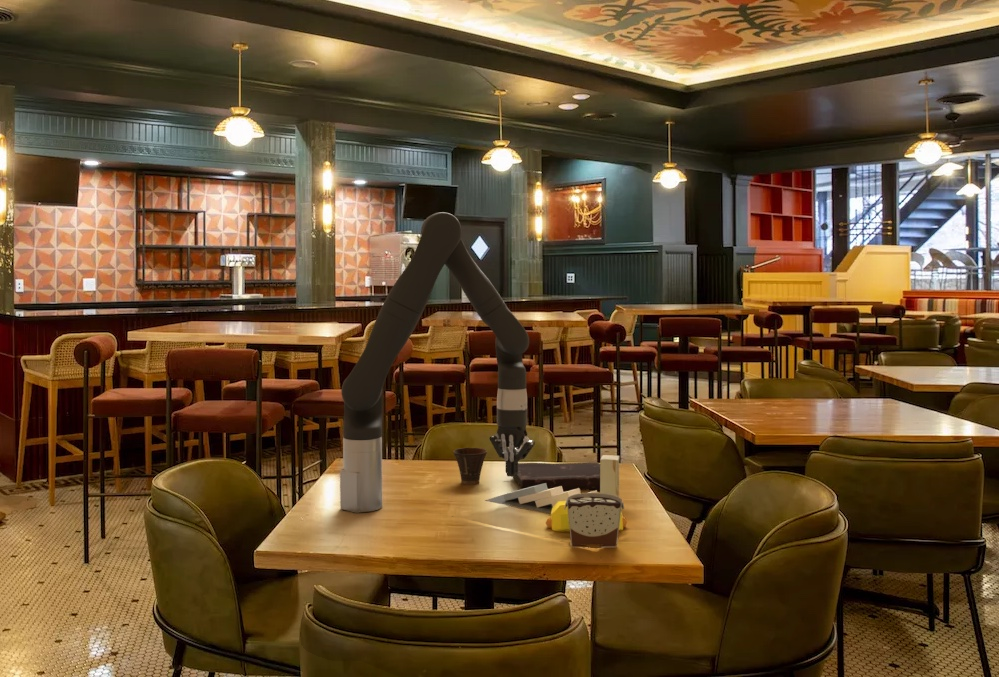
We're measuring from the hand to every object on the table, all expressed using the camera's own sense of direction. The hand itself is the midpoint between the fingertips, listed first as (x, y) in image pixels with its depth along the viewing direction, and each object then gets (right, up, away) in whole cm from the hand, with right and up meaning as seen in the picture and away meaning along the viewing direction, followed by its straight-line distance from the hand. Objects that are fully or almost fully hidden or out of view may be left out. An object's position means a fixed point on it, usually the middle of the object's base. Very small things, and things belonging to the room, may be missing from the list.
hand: (511, 475), depth 209 cm
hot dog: (+16, -9, -23) cm, 30 cm away
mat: (+6, -7, -5) cm, 10 cm away
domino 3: (+7, -6, -5) cm, 11 cm away
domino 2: (+3, -5, -2) cm, 7 cm away
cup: (-11, -6, +18) cm, 22 cm away
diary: (+13, -6, +18) cm, 23 cm away
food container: (+16, -9, -33) cm, 38 cm away
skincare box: (+24, -7, -4) cm, 25 cm away
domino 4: (+11, -6, -8) cm, 15 cm away
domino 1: (0, -5, +1) cm, 5 cm away
